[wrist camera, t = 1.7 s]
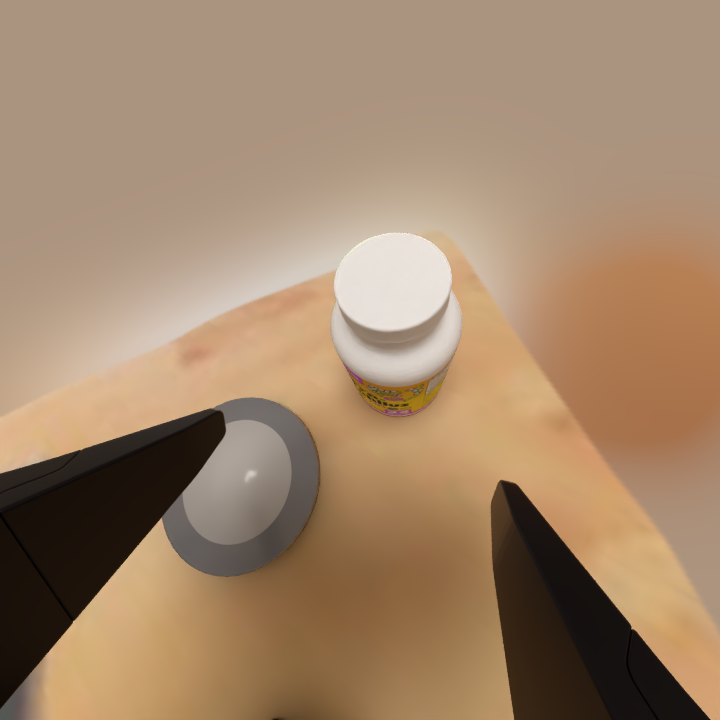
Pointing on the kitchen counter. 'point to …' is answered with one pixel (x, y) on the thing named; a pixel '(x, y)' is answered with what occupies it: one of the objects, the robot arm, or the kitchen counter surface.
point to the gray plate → (247, 492)
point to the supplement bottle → (396, 321)
